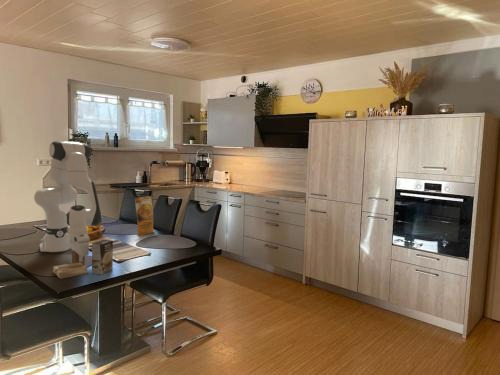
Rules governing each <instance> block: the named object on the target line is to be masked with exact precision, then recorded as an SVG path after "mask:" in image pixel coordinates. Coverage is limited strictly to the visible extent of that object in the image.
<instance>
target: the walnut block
mask: <svg viewBox="0 0 500 375" xmlns="http://www.w3.org/2000/svg"><path fill="white" fill-rule="evenodd" d="M78 258H79V254H77V253H76V252H74V251H73V250H72V251H71V263H76V262H79V261H78ZM85 258H86V256H83V261H82V262H80V263H82V264H83V265H84V266H85V267H86V265H85V264H86V261H85V260H86V259H85Z"/></svg>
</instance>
